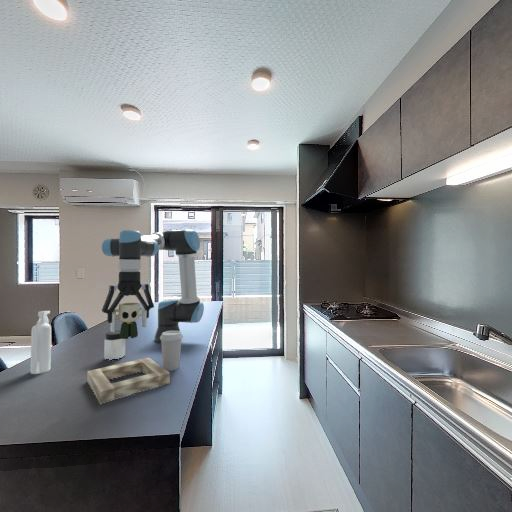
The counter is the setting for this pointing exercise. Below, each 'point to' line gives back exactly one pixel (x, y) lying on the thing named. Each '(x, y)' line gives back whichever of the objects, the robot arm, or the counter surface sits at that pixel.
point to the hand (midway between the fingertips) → (128, 329)
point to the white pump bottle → (41, 344)
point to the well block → (109, 391)
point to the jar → (114, 345)
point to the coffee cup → (171, 349)
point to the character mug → (128, 319)
